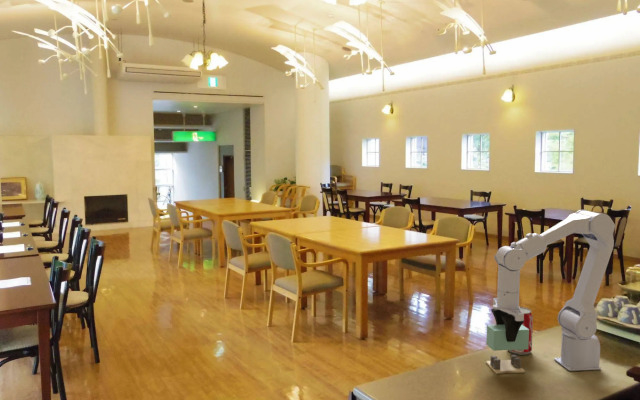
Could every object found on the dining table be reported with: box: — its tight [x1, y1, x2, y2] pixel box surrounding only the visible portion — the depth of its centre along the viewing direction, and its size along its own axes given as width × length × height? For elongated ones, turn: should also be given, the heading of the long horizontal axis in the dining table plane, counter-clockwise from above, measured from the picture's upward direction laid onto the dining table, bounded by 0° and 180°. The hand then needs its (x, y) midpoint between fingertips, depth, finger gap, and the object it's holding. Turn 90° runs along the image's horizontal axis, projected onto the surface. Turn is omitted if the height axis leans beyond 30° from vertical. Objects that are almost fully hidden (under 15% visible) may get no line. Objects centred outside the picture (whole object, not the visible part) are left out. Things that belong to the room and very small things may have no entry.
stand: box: [485, 354, 525, 375], centre depth 145 cm, size 8×7×3 cm
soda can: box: [508, 306, 534, 356], centre depth 156 cm, size 7×7×13 cm
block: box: [485, 324, 529, 352], centre depth 143 cm, size 10×5×6 cm, turn 96°
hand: (506, 337), depth 143 cm, fingers closed on block, 5 cm apart
